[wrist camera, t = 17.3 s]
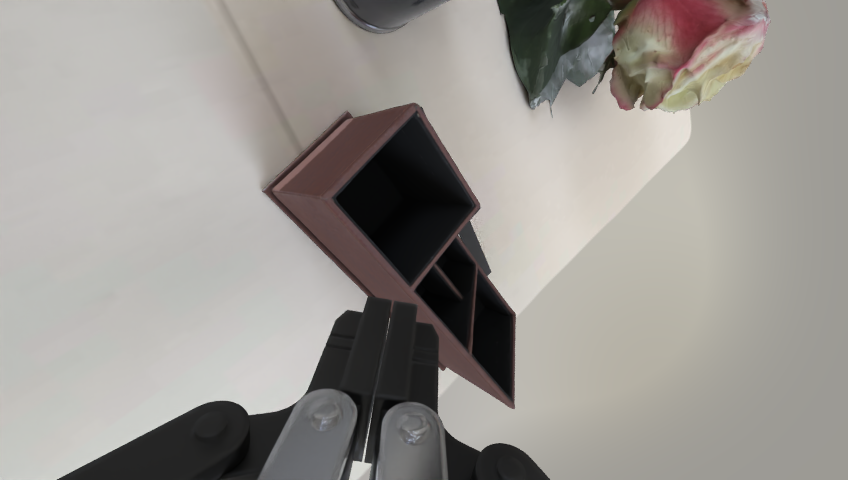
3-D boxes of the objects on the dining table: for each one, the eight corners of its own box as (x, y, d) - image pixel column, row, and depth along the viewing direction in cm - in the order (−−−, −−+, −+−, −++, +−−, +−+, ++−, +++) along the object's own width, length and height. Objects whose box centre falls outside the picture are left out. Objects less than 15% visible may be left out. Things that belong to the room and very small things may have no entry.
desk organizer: (345, 110, 35) (418, 90, 26) (488, 302, 51) (565, 330, 42) (258, 190, 32) (309, 198, 23) (440, 370, 47) (513, 417, 38)
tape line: (420, 107, 40) (422, 106, 40) (490, 271, 50) (491, 271, 50) (406, 115, 39) (407, 115, 39) (480, 281, 49) (481, 281, 49)
